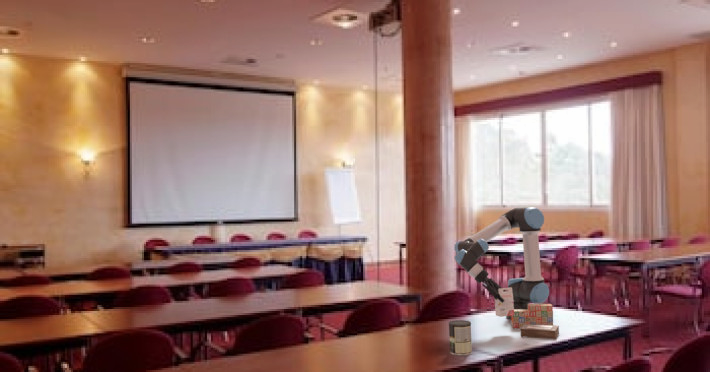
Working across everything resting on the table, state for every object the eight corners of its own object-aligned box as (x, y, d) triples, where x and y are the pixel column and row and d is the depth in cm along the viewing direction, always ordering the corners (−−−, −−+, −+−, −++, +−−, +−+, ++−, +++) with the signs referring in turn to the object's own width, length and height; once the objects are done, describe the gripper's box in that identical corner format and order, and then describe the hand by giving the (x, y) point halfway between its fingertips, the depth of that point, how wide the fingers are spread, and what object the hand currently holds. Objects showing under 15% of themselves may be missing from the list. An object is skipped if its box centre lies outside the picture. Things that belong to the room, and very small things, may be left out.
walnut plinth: (525, 331, 334) (525, 323, 334) (558, 333, 327) (558, 325, 327) (520, 336, 322) (520, 328, 322) (555, 338, 315) (555, 330, 315)
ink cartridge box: (509, 313, 336) (508, 286, 337) (514, 315, 332) (513, 287, 332) (495, 315, 334) (493, 287, 334) (499, 316, 329) (498, 288, 330)
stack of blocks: (513, 328, 343) (512, 305, 343) (511, 326, 349) (510, 303, 350) (553, 328, 341) (552, 305, 341) (551, 325, 347) (550, 303, 347)
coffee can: (445, 353, 293) (444, 323, 294) (456, 349, 301) (455, 319, 302) (465, 356, 287) (463, 325, 287) (476, 351, 295) (475, 321, 295)
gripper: (479, 275, 349) (509, 305, 342) (468, 281, 330) (501, 313, 323) (488, 266, 347) (519, 296, 340) (478, 271, 328) (511, 303, 321)
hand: (510, 304), depth 332 cm, fingers closed on ink cartridge box, 9 cm apart
